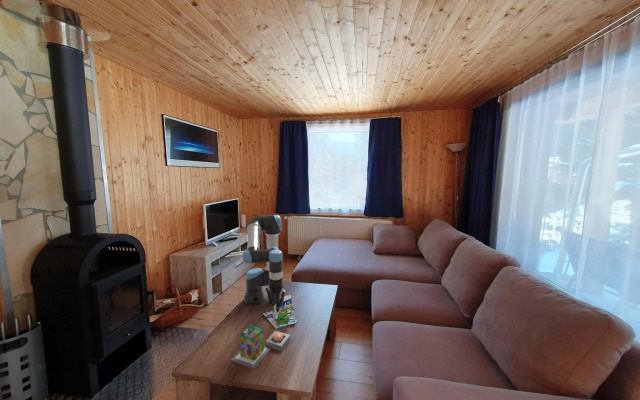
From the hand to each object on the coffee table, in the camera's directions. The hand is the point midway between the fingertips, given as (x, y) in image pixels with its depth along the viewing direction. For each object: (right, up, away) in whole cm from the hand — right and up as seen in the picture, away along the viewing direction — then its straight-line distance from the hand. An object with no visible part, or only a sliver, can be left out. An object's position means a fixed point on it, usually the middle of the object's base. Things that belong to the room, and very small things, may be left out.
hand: (276, 316), depth 141 cm
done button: (+2, -11, -5) cm, 12 cm away
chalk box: (-10, -13, -13) cm, 21 cm away
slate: (-10, -14, -14) cm, 22 cm away
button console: (+2, -13, -5) cm, 14 cm away
